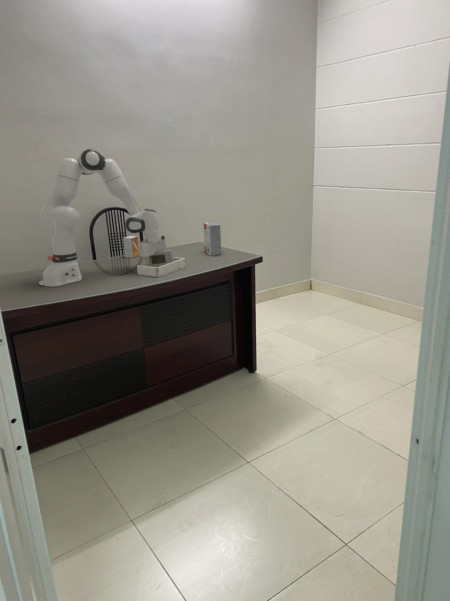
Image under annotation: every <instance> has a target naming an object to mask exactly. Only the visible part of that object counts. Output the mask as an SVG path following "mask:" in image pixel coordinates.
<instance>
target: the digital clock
mask: <svg viewBox="0 0 450 601" xmlns="http://www.w3.org/2000/svg"><path fill="white" fill-rule="evenodd" d="M173 257H174V254H173V250H172V249H166V250H162V251H156V252H155V254H154V255H152V256H149V258H148V259H149V261H150V264H148V263H146V262H145V263H146V265H145V266H148V267H160V266H163V265H166V264H169V263H172V262H174V259H173Z"/></svg>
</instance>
